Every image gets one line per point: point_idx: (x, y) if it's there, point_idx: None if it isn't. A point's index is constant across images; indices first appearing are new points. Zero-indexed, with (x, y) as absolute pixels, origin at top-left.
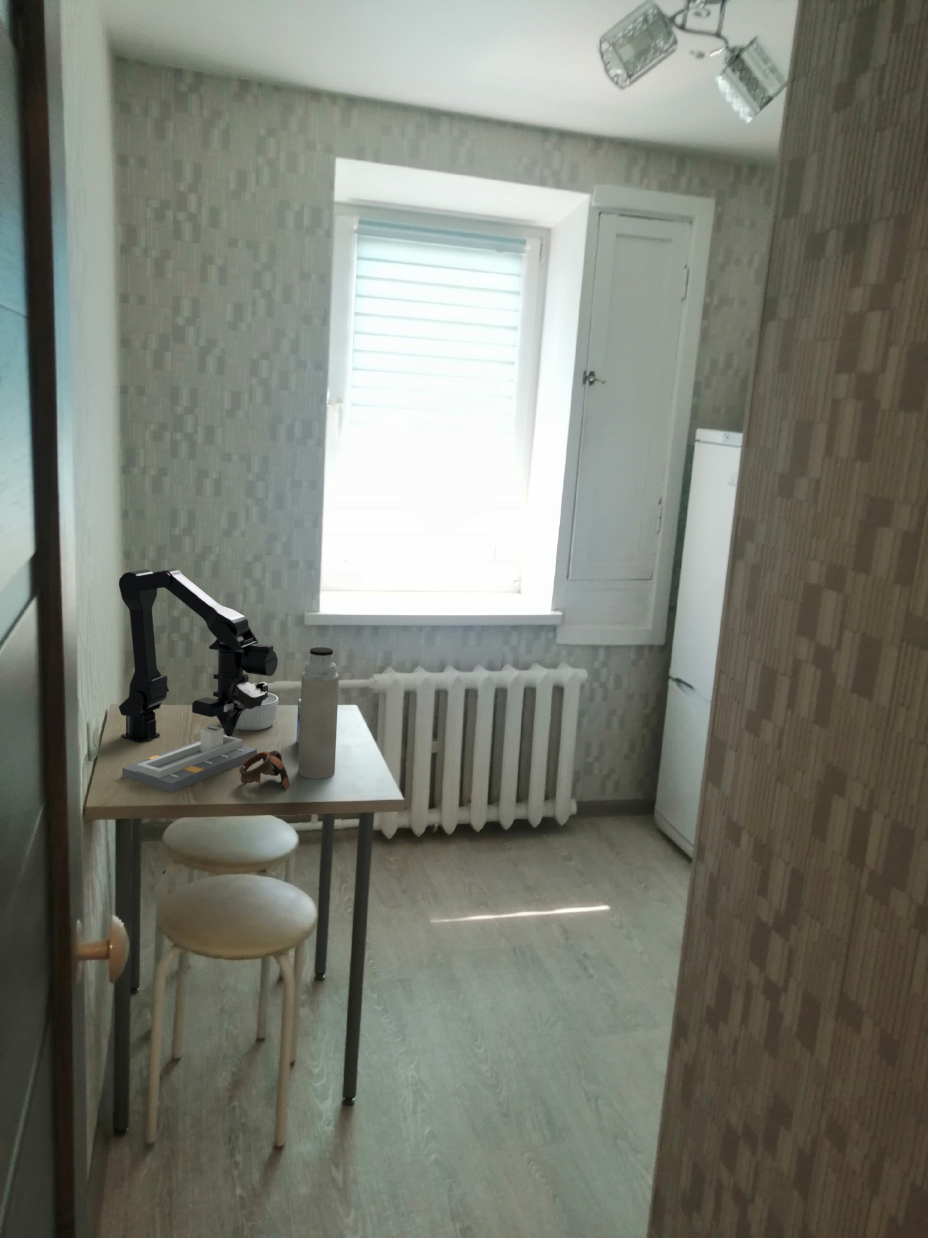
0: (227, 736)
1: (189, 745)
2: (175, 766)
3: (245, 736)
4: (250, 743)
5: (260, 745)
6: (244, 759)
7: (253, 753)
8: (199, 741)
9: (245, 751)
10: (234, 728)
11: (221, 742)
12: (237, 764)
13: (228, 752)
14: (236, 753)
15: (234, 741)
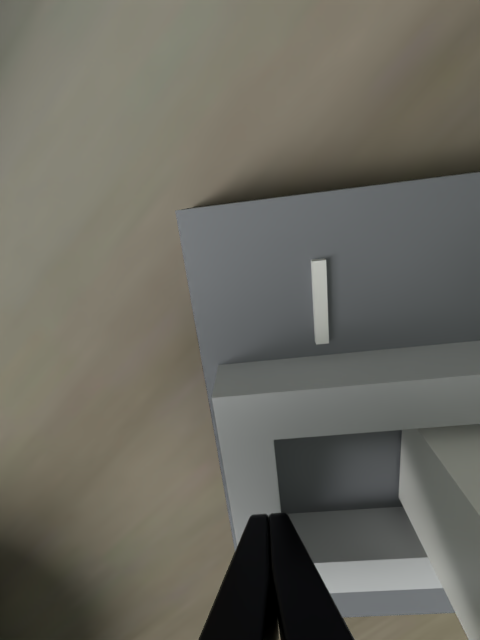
0: None
1: None
2: None
3: (5, 536)
4: (45, 446)
5: (10, 382)
6: (353, 187)
7: (230, 203)
8: (363, 606)
9: (302, 243)
10: (232, 589)
11: (468, 458)
12: (440, 176)
13: (427, 332)
14: (406, 260)
15: (309, 419)
